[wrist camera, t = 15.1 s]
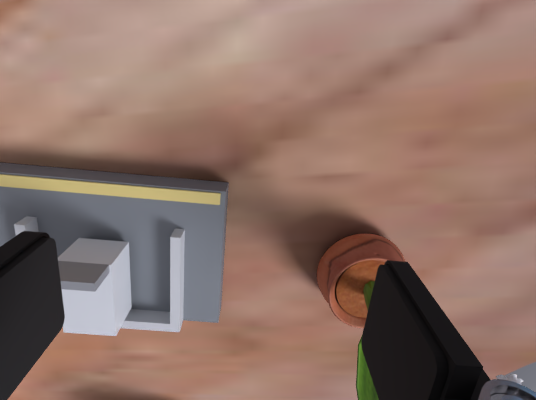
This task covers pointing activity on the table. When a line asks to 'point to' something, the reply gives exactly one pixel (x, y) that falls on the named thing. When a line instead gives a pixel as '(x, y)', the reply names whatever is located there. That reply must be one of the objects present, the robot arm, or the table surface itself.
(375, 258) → the potted flower
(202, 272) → the dock
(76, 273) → the lidded storage box
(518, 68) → the table surface
